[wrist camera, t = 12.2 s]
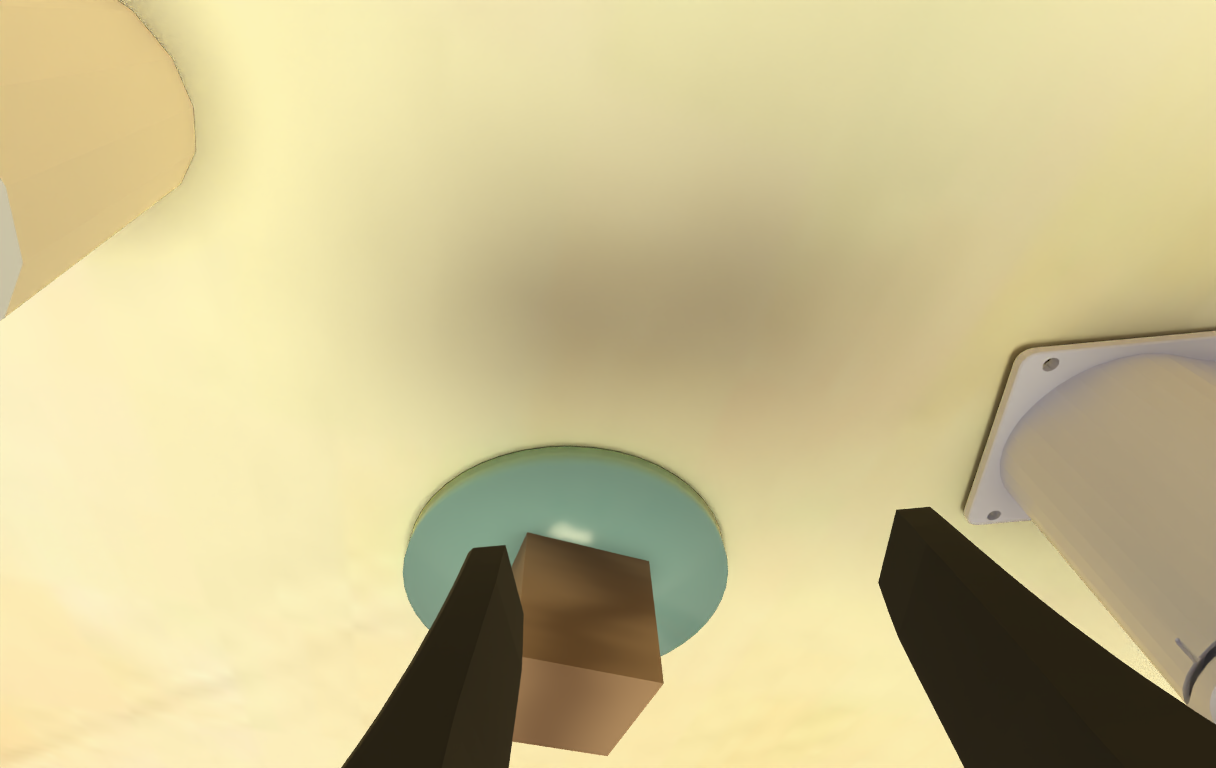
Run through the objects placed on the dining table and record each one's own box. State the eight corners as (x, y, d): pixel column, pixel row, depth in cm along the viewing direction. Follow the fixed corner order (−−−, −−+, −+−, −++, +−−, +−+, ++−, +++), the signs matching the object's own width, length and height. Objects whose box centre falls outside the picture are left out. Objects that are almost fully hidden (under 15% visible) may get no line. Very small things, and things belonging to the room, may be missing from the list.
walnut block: (649, 561, 24) (663, 683, 20) (602, 633, 26) (607, 755, 22) (527, 532, 23) (515, 655, 19) (491, 611, 25) (473, 735, 21)
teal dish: (726, 430, 22) (732, 448, 21) (720, 644, 29) (724, 664, 28) (367, 463, 22) (358, 482, 21) (450, 668, 29) (446, 688, 28)
